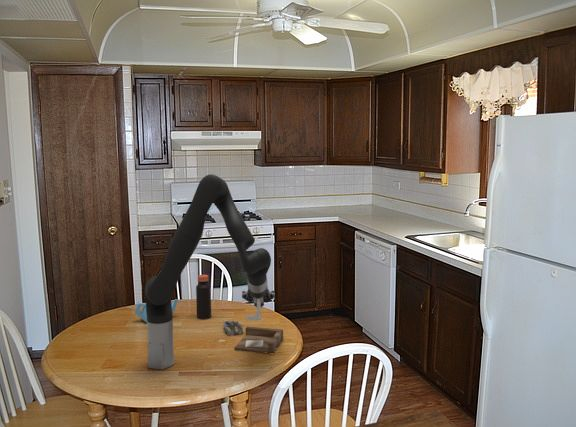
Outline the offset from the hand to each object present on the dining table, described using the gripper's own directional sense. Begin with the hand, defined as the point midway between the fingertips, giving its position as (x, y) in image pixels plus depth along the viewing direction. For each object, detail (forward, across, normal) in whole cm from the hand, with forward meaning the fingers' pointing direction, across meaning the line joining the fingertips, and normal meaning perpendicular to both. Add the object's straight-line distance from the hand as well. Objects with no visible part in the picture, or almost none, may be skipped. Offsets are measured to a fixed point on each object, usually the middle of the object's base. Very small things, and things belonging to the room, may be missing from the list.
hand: (259, 304), depth 211 cm
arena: (+12, 0, +12) cm, 17 cm away
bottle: (+35, +27, -12) cm, 46 cm away
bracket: (+2, +2, +6) cm, 6 cm away
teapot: (+34, +49, -10) cm, 60 cm away
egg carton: (+23, +12, +1) cm, 26 cm away
